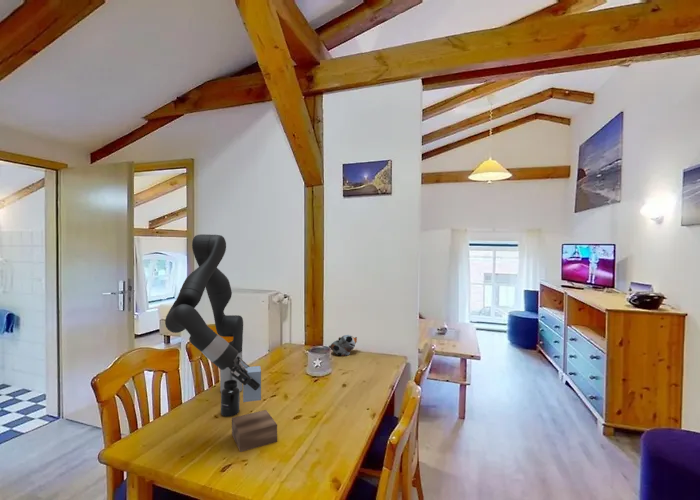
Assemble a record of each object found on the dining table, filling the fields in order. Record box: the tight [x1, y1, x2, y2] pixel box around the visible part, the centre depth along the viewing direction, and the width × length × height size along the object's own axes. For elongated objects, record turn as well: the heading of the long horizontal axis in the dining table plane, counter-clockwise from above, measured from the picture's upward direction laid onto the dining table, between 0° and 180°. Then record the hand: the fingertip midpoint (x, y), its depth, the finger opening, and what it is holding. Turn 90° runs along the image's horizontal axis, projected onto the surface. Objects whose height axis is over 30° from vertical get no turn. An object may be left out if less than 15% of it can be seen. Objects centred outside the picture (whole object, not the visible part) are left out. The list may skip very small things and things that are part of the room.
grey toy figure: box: [328, 334, 358, 357], centre depth 214 cm, size 15×12×14 cm
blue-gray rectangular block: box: [242, 365, 262, 403], centre depth 121 cm, size 6×6×10 cm
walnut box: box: [231, 409, 278, 453], centre depth 122 cm, size 12×12×6 cm
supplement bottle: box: [220, 380, 241, 417], centre depth 140 cm, size 7×7×12 cm
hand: (257, 384), depth 122 cm, fingers closed on blue-gray rectangular block, 5 cm apart
